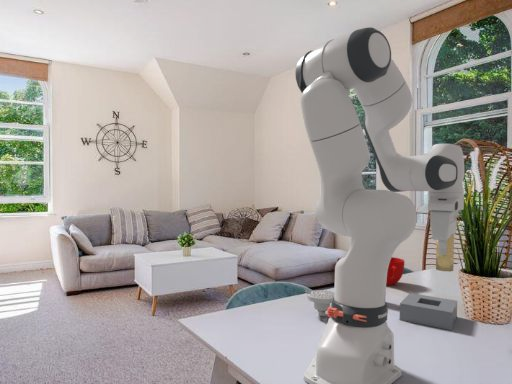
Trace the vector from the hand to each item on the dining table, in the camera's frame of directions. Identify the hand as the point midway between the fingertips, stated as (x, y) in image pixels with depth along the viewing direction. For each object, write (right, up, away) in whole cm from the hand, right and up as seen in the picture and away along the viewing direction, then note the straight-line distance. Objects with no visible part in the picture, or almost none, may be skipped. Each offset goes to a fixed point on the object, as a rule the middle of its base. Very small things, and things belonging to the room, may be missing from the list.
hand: (444, 252), depth 107 cm
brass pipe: (0, -5, 0) cm, 5 cm away
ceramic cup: (+2, -21, +51) cm, 56 cm away
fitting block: (+1, -22, +11) cm, 24 cm away
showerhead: (-32, -21, +12) cm, 40 cm away
